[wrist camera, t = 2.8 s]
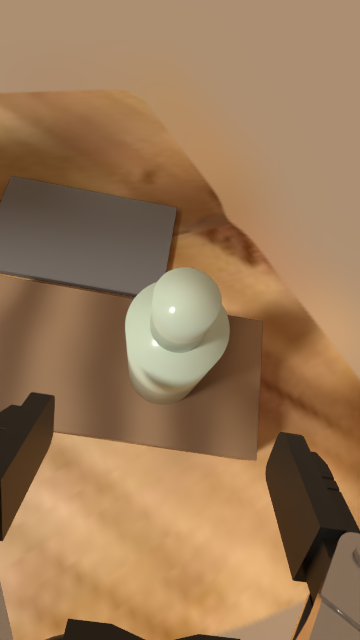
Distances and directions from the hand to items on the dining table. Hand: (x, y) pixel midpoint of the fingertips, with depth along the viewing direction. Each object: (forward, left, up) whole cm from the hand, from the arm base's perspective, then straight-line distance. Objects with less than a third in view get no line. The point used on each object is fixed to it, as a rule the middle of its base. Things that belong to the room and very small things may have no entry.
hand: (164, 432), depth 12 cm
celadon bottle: (0, +5, -11) cm, 12 cm away
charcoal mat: (-9, +17, -15) cm, 24 cm away
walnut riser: (-4, +5, -15) cm, 16 cm away
